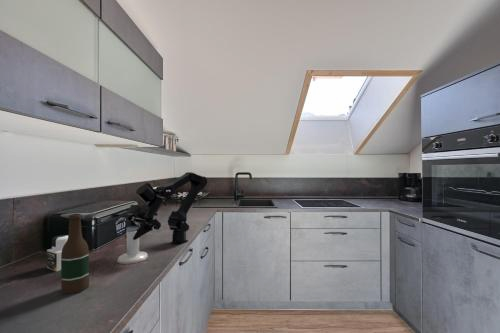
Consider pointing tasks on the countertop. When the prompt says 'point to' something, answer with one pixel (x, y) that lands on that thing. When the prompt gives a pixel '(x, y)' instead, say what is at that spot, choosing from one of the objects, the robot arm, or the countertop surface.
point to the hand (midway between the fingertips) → (130, 238)
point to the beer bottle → (74, 259)
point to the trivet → (132, 258)
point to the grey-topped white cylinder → (132, 241)
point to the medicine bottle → (56, 252)
